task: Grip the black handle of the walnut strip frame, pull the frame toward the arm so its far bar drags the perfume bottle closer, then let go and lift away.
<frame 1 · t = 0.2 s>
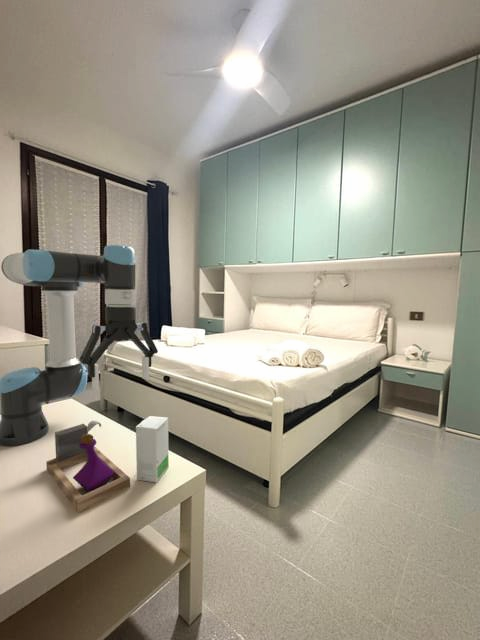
hand: (122, 383, 81), 27 cm above the table, tool pointing down, fingers open, 13 cm apart
skincare box: (152, 473, 87), on the table
perfume bottle: (94, 487, 80), resting in strip frame
strip frame: (86, 460, 83), point 5 cm above the table, slide at 0.0 cm
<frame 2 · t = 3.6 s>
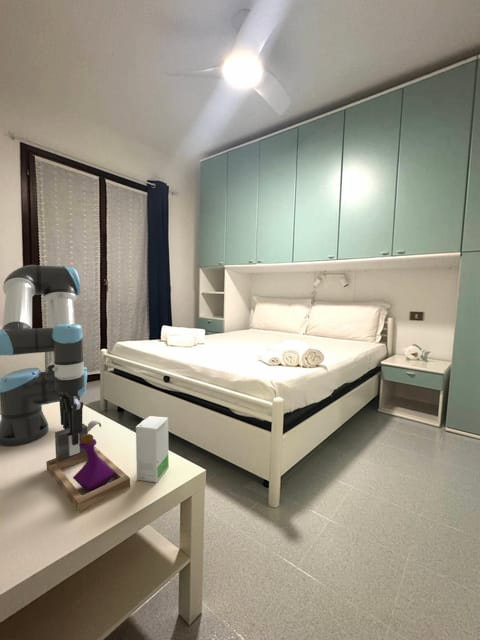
hand: (72, 451, 90), 4 cm above the table, tool pointing down, fingers closed on strip frame, 3 cm apart
strip frame: (86, 460, 83), point 5 cm above the table, slide at 0.0 cm, touching gripper
everything else where it was.
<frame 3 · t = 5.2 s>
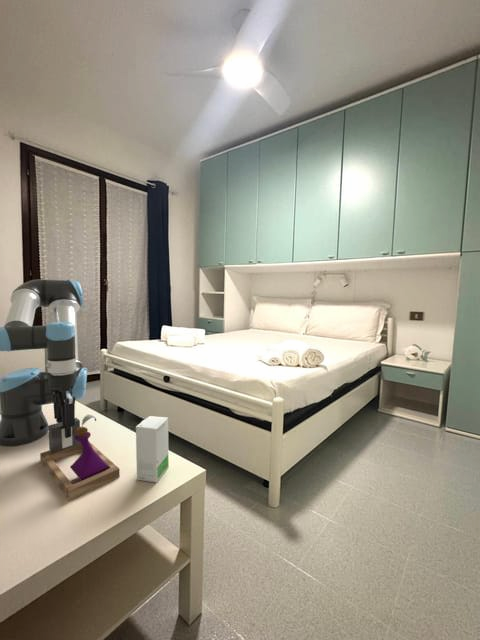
hand: (65, 443, 94), 4 cm above the table, tool pointing down, fingers closed on strip frame, 3 cm apart
perfume bottle: (89, 478, 84), resting in strip frame
strip frame: (77, 451, 87), point 5 cm above the table, slide at 6.1 cm, touching gripper, perfume bottle
everything else where it was.
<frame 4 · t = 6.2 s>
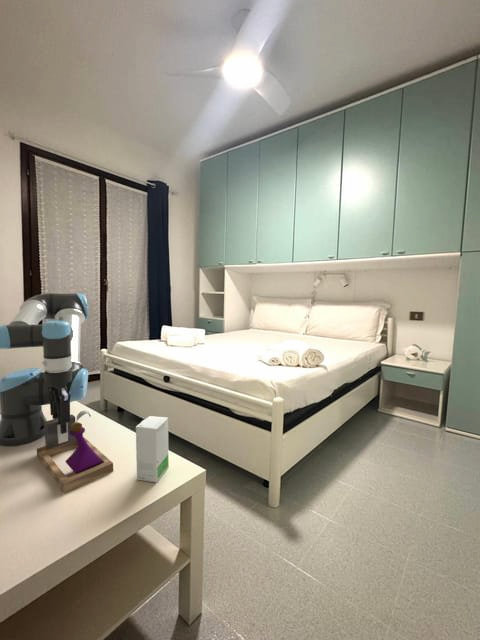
hand: (61, 439, 97), 4 cm above the table, tool pointing down, fingers closed on strip frame, 3 cm apart
perfume bottle: (84, 472, 86), resting in strip frame
strip frame: (73, 446, 90), point 5 cm above the table, slide at 9.9 cm, touching gripper, perfume bottle
everything else where it was.
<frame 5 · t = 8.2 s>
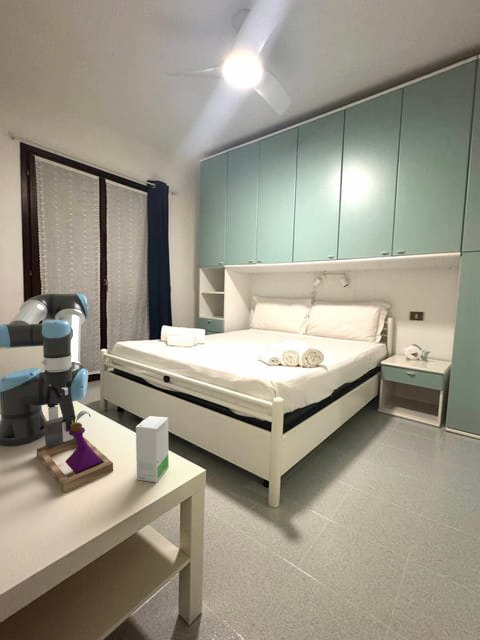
hand: (60, 432, 97), 6 cm above the table, tool pointing down, fingers open, 13 cm apart
perfume bottle: (84, 472, 86), resting in strip frame
strip frame: (73, 446, 90), point 5 cm above the table, slide at 10.0 cm
everything else where it was.
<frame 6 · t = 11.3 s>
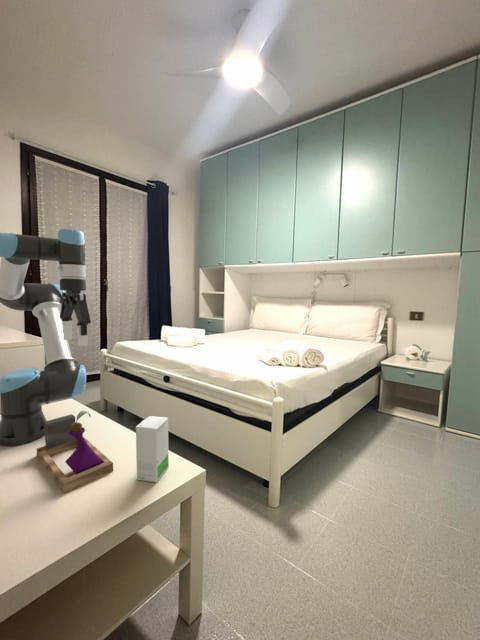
hand: (75, 342, 100), 35 cm above the table, tool pointing down, fingers open, 13 cm apart
nothing on the table moved.
at the end: strip frame slide at 10.0 cm; perfume bottle inside the target area (1.4 cm from its centre), resting in strip frame; perfume bottle tilted 0° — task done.
